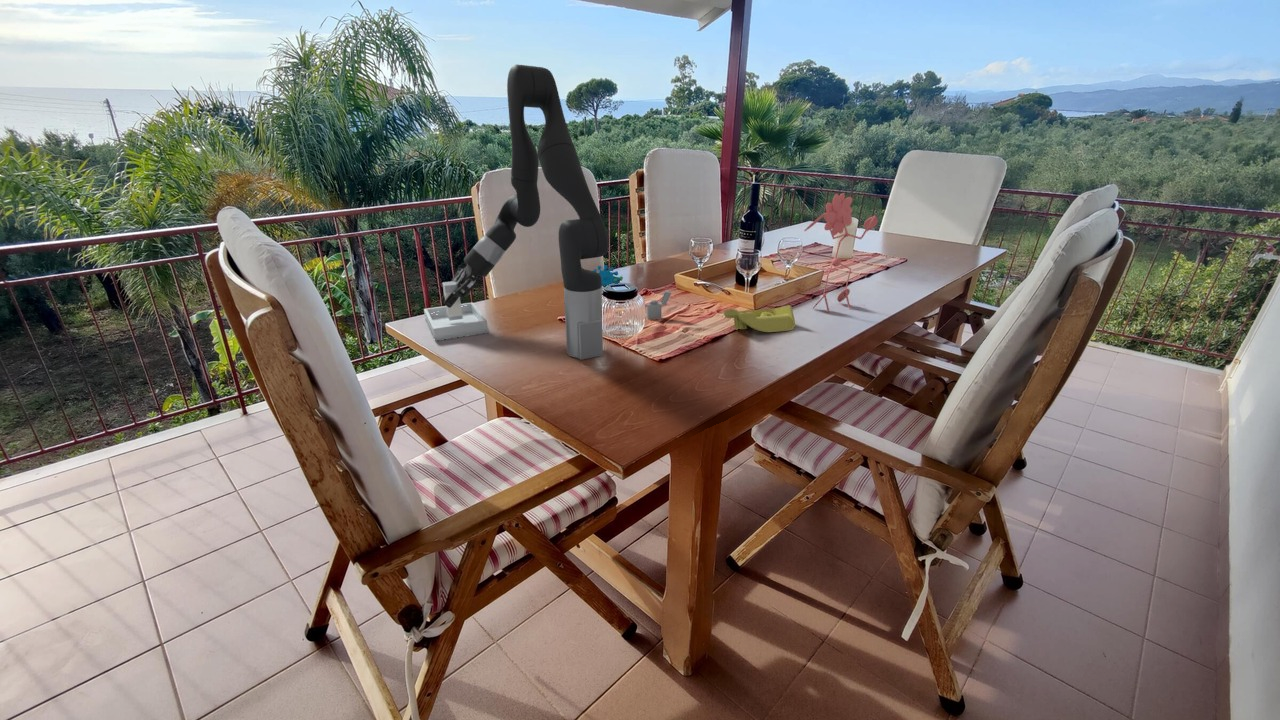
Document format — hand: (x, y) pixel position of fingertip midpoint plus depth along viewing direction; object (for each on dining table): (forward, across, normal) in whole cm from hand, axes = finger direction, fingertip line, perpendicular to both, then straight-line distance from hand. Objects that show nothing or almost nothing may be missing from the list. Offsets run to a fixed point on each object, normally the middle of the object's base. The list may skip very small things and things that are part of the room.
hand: (445, 303), depth 151 cm
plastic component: (-51, +38, +62) cm, 88 cm away
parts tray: (+4, 0, +6) cm, 7 cm away
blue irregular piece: (-35, -16, +45) cm, 59 cm away
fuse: (+2, 0, +5) cm, 5 cm away
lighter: (-36, +18, +46) cm, 61 cm away
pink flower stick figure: (-74, +31, +84) cm, 116 cm away
